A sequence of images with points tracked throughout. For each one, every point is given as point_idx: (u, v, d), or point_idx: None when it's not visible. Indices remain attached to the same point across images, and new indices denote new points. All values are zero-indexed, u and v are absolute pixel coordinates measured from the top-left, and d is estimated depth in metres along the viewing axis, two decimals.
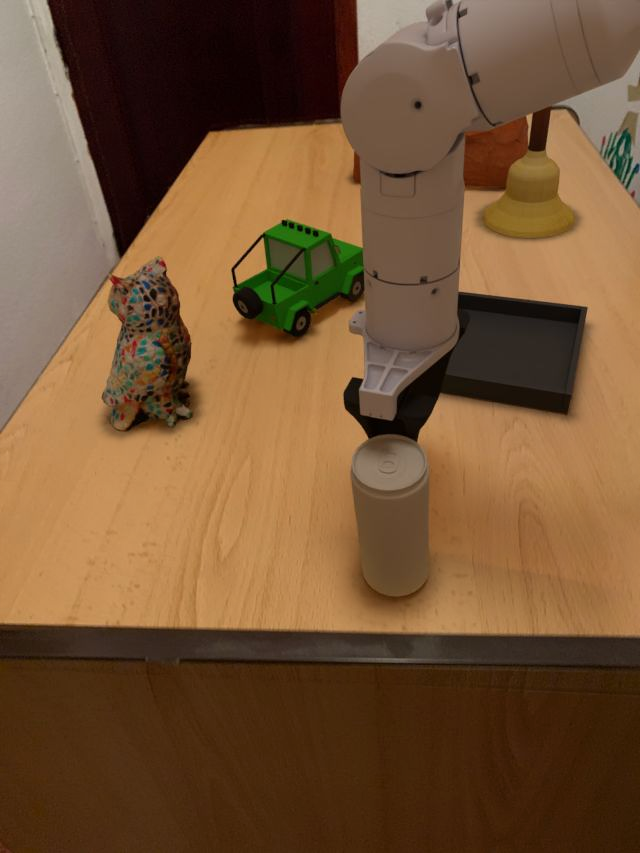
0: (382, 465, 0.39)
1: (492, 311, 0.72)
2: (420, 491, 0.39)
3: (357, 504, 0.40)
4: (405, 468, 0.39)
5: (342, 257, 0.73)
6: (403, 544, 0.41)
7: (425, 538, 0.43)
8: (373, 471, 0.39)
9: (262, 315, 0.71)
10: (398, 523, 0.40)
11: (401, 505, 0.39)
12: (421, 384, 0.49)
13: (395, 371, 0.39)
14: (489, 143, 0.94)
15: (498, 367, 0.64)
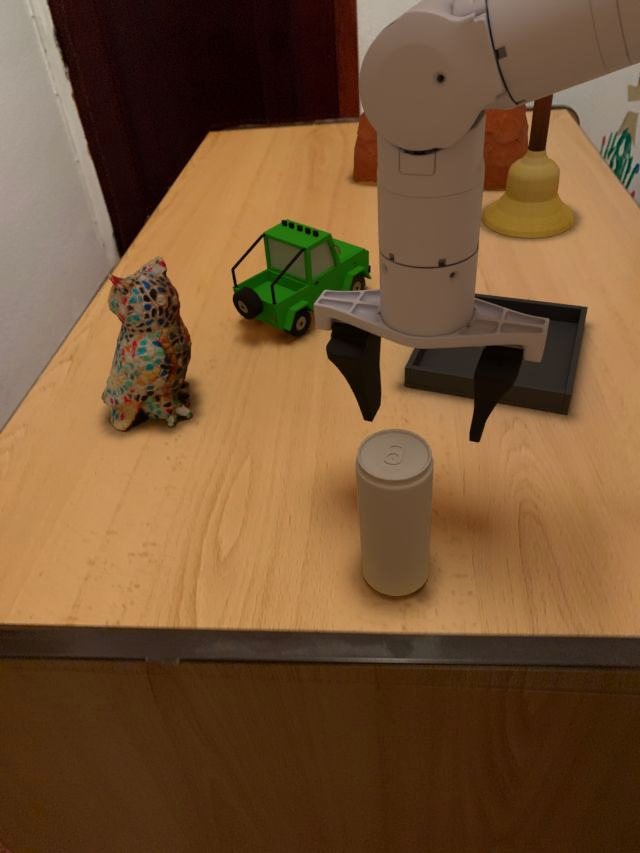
0: (387, 457, 0.40)
1: None
2: (425, 483, 0.39)
3: (361, 496, 0.41)
4: (410, 460, 0.39)
5: (342, 257, 0.73)
6: (406, 538, 0.42)
7: (427, 535, 0.43)
8: (378, 463, 0.40)
9: (262, 315, 0.71)
10: (402, 515, 0.40)
11: (406, 496, 0.39)
12: None
13: None
14: (489, 143, 0.94)
15: None
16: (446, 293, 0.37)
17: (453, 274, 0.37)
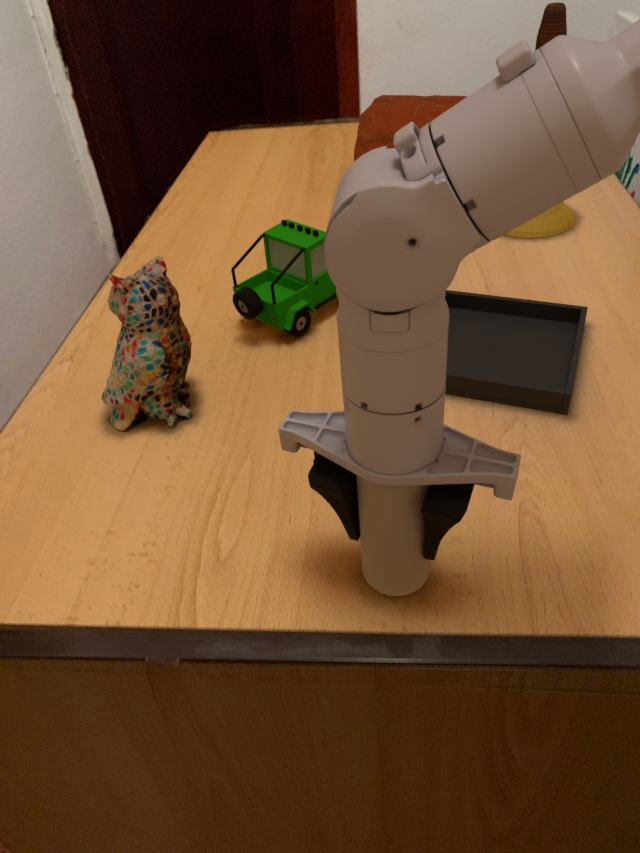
0: None
1: (492, 311, 0.72)
2: None
3: (361, 497, 0.41)
4: None
5: None
6: (406, 538, 0.42)
7: None
8: None
9: (262, 315, 0.71)
10: (402, 515, 0.40)
11: (406, 496, 0.39)
12: None
13: (318, 432, 0.41)
14: None
15: (498, 367, 0.64)
16: (411, 436, 0.35)
17: (418, 417, 0.35)
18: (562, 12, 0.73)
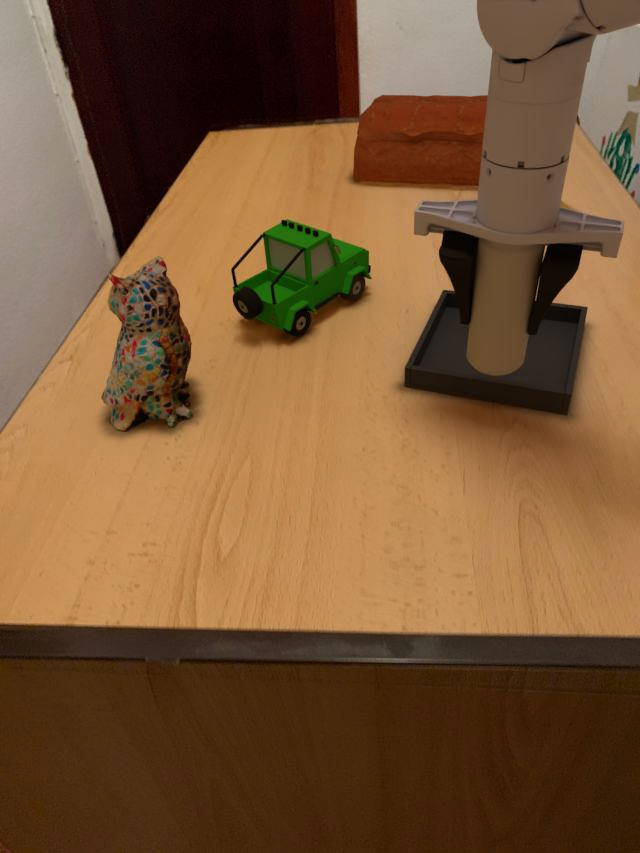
0: None
1: None
2: (540, 251, 0.47)
3: (483, 270, 0.49)
4: None
5: (342, 257, 0.73)
6: (518, 308, 0.50)
7: (532, 311, 0.51)
8: None
9: (262, 315, 0.71)
10: (518, 282, 0.48)
11: (525, 261, 0.47)
12: None
13: (449, 214, 0.48)
14: None
15: None
16: (542, 193, 0.43)
17: (549, 176, 0.43)
18: None
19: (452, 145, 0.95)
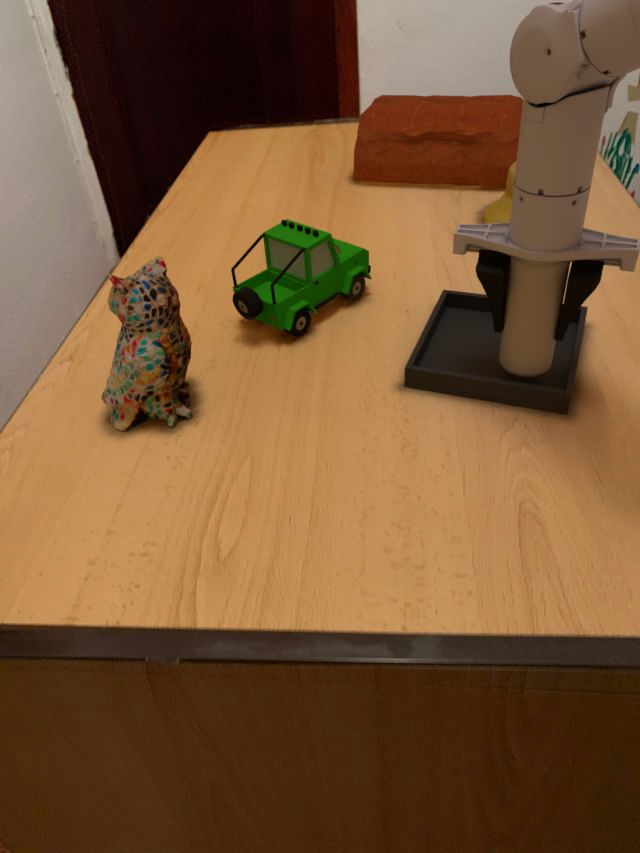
0: None
1: None
2: (566, 266, 0.54)
3: (515, 283, 0.55)
4: None
5: (342, 257, 0.73)
6: (546, 317, 0.56)
7: (559, 319, 0.58)
8: None
9: (262, 315, 0.71)
10: (547, 294, 0.55)
11: (553, 275, 0.54)
12: None
13: (484, 235, 0.55)
14: (489, 143, 0.94)
15: (498, 367, 0.64)
16: (568, 216, 0.50)
17: (573, 202, 0.50)
18: None
19: (452, 145, 0.95)
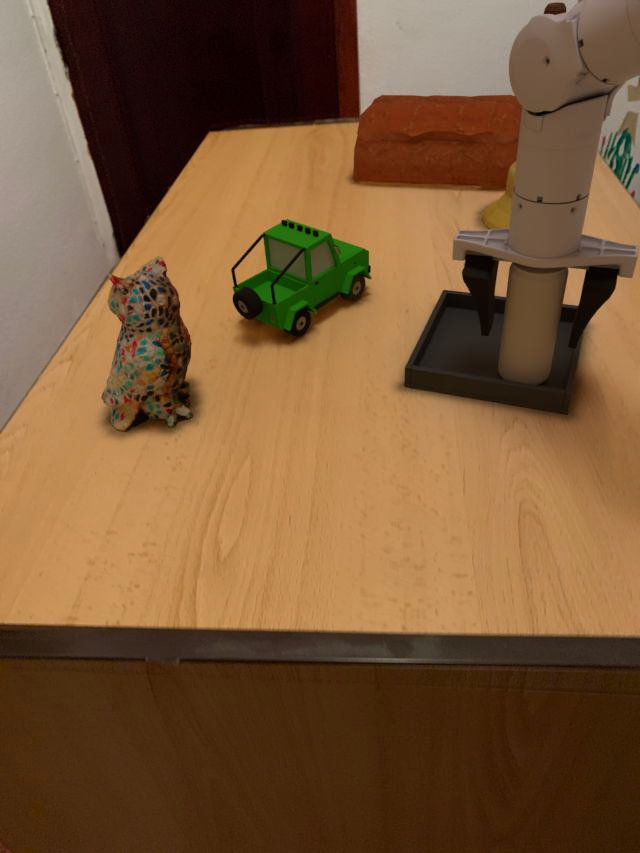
0: None
1: None
2: (564, 279, 0.55)
3: (513, 295, 0.56)
4: None
5: (342, 257, 0.73)
6: (544, 328, 0.57)
7: (556, 331, 0.58)
8: None
9: (262, 315, 0.71)
10: (545, 306, 0.55)
11: (551, 288, 0.54)
12: (573, 324, 0.58)
13: (484, 241, 0.56)
14: (489, 143, 0.94)
15: None
16: (567, 223, 0.50)
17: (572, 209, 0.50)
18: (562, 12, 0.73)
19: (452, 145, 0.95)
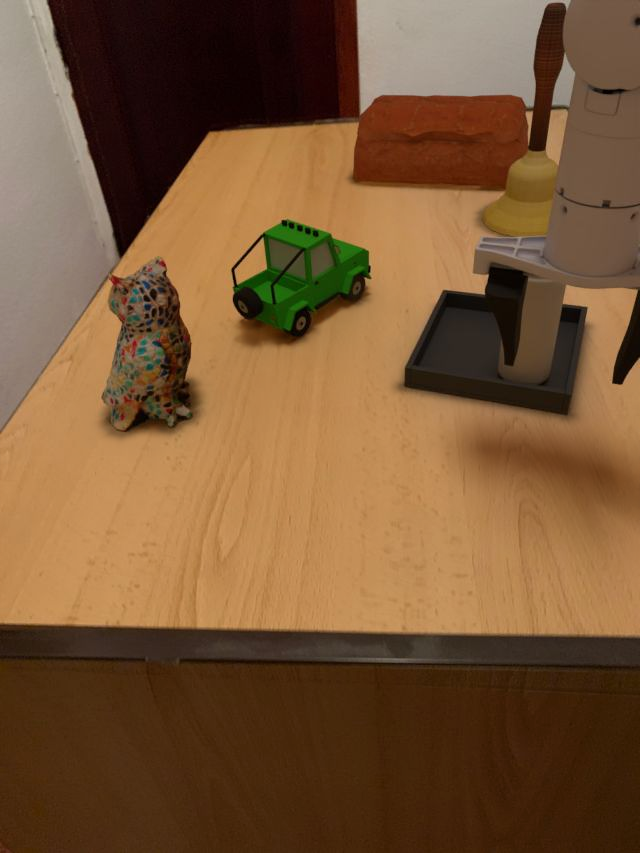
0: None
1: None
2: None
3: None
4: None
5: (342, 257, 0.73)
6: (544, 329, 0.57)
7: (556, 331, 0.58)
8: None
9: (262, 315, 0.71)
10: (545, 306, 0.55)
11: (551, 288, 0.54)
12: (619, 355, 0.47)
13: (513, 252, 0.44)
14: (489, 143, 0.94)
15: None
16: (624, 233, 0.39)
17: (632, 215, 0.39)
18: (562, 12, 0.73)
19: (452, 145, 0.95)
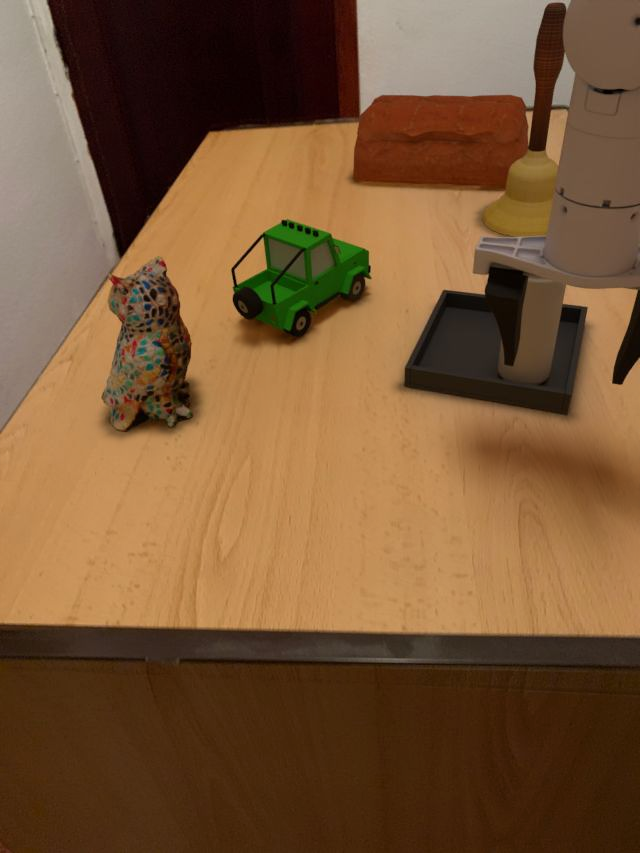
0: None
1: None
2: None
3: None
4: None
5: (342, 257, 0.73)
6: (544, 329, 0.57)
7: (556, 331, 0.58)
8: None
9: (262, 315, 0.71)
10: (545, 306, 0.55)
11: (551, 288, 0.54)
12: (619, 355, 0.47)
13: (513, 252, 0.44)
14: (489, 143, 0.94)
15: None
16: (625, 233, 0.39)
17: (632, 215, 0.39)
18: (563, 12, 0.73)
19: (452, 145, 0.95)
